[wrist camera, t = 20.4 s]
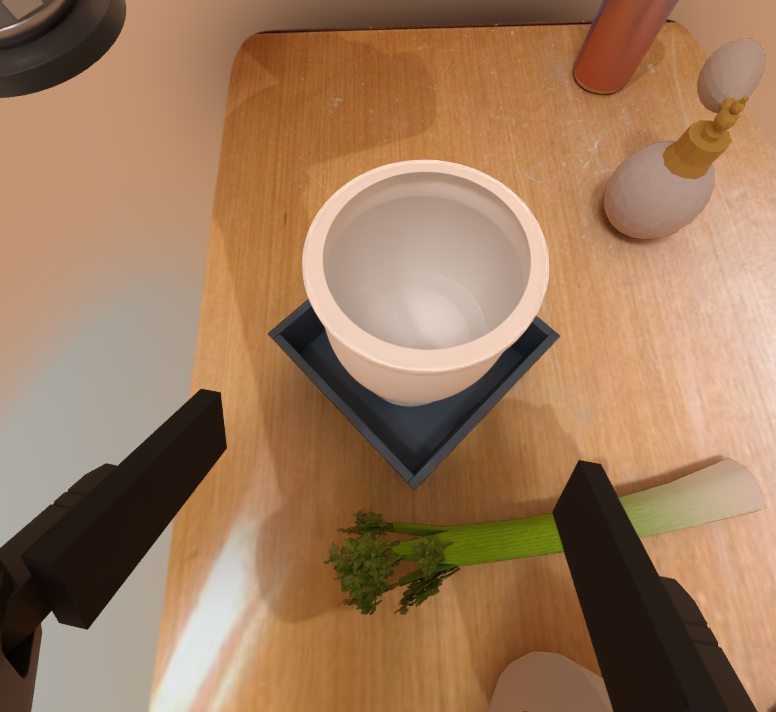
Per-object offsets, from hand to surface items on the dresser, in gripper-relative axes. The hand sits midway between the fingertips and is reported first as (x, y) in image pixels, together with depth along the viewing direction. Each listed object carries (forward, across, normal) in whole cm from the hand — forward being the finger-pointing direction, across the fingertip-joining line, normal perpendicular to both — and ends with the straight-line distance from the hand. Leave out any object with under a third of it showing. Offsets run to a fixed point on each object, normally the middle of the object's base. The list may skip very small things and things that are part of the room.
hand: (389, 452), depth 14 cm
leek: (+9, +11, -12) cm, 19 cm away
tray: (+16, 0, -5) cm, 17 cm away
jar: (+16, 0, -4) cm, 17 cm away
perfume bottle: (+29, +18, +8) cm, 35 cm away
